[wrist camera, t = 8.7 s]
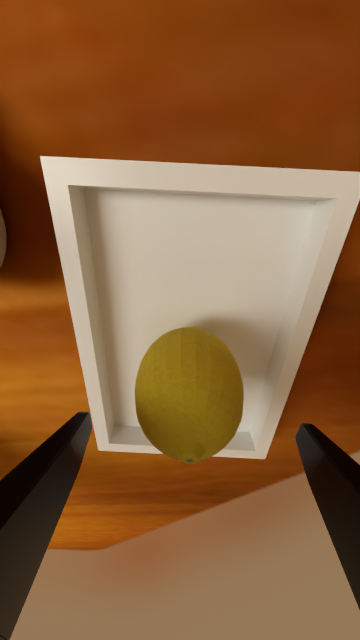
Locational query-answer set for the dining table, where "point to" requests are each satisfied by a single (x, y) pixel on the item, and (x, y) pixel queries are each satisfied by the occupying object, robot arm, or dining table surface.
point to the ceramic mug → (2, 239)
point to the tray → (195, 275)
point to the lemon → (189, 394)
